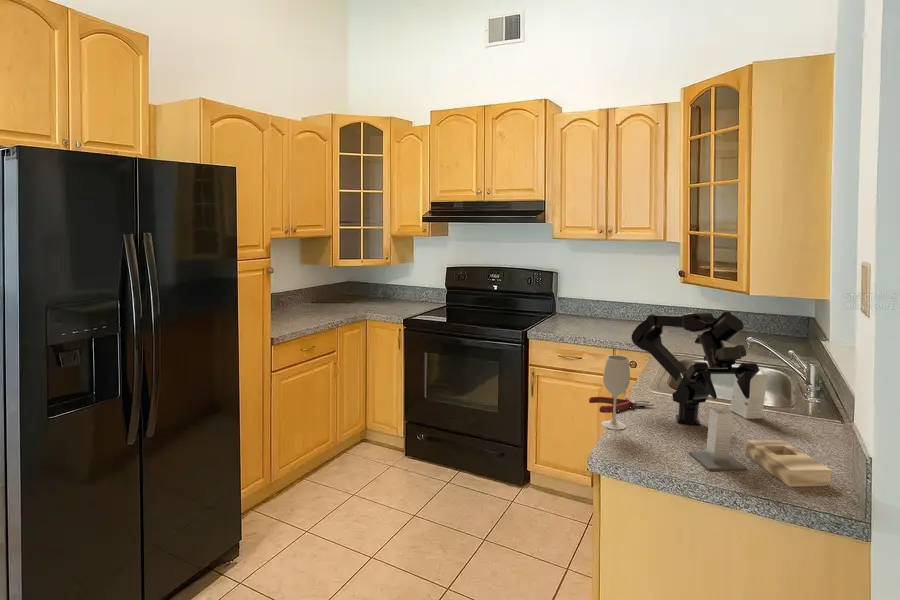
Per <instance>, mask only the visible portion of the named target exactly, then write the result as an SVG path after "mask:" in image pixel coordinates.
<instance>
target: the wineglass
mask: <svg viewBox="0 0 900 600" xmlns="http://www.w3.org/2000/svg"><path fill="white" fill-rule="evenodd" d="M602 377H603V378H602V381H603V382H602V383H603V385H604V388H605V389H606V390H607V391H608V392H609V393H610V394H611V395H612V398H614V404H612V405H613V413H612V419H610V420H604V421H602V422H601V423H600V426H602V427H603V428H605V429H607V430H613V431H621V430H620V429H623V430H625V429H626V428H627V426H626V424H625V423H623V422H620V421H618V420H617V419H616V413H617V412H616V400H617V398H619V397H618V396H620V395H621V394H623V393H624V392H626V390H627V389H628V387H629V386H630V381H631V370H630V362H629V357H627V356H623V355H619V354H618V355H617V354H615V355H613V354H612V355H607V357H606V361H605V365H604V370H603V375H602ZM609 424H610V425H609ZM608 425H609V426H608ZM607 426H608V428H609V429H608V428H607ZM624 428H625V429H624Z"/></svg>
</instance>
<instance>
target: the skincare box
mask: <svg viewBox="0 0 900 600" xmlns="http://www.w3.org/2000/svg"><path fill="white" fill-rule="evenodd" d="M768 378H769V376H768V374H767V373H766V372H765V373H764V372H763V371H761V370H760V371H759V372H758V373H757V374H756V375H755V376H754V377H753V378H752V379H751V381H750V397H749V398H748V399H746V398H745V396H744V395H743V393H742V391H741V389H740V387H739V385H738V383H737V380H738V379H737V378H736V376H735V375H734V379H733V387H732V395H731V401H730V409H729V411H730V412H732V413H735V414H737V415H739V416H741V417H742V418H744V419H748V420H749V419H762V416H763V409H764V403H765V396H766V391H767V390H766V389H767V383H768Z"/></svg>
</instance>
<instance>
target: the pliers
mask: <svg viewBox="0 0 900 600" xmlns="http://www.w3.org/2000/svg"><path fill="white" fill-rule="evenodd" d="M588 402H589V404H596V403H597V404H598V403H599V404H609V405H601V406H600V407H599V412H600V413H603V414H604V413H605V414H606V413H607V414H609V413H611V414H613V405H614V397H609V396H592V397H589V399H588ZM635 406H647V407H654V406H655V405H654V404H653V403H651V401H646V400H630V399H628V398H627V397H625V399H624V398H619V397H617V400H616V413H619V412H623V411H625V410H628V408H629V409H630V407H631V408H634V409H635V408H636V407H635ZM618 410H619V411H618Z"/></svg>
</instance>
